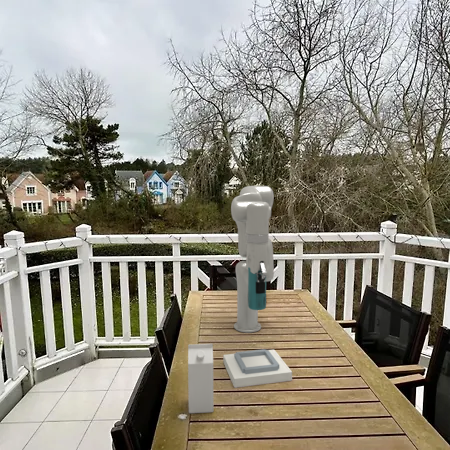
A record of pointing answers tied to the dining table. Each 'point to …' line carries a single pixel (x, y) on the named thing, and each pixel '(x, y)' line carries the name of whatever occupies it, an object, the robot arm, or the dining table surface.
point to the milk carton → (200, 378)
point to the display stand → (256, 368)
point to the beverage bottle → (255, 299)
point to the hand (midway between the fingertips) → (257, 289)
